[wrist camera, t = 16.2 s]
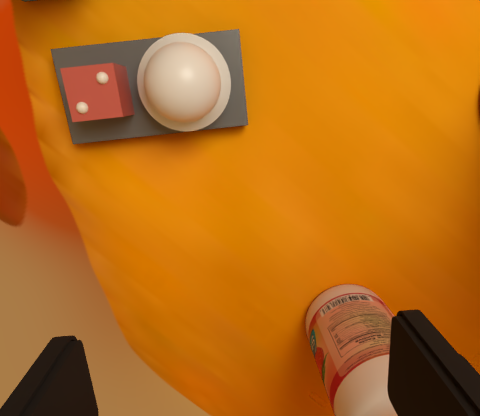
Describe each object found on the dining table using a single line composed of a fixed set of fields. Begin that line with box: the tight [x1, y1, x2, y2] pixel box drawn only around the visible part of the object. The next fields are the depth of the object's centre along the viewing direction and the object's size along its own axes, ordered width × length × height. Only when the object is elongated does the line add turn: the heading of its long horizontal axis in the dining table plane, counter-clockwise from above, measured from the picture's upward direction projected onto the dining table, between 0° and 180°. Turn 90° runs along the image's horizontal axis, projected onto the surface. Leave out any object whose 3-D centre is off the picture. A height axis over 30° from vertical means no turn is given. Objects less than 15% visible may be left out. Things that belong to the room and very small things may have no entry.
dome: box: [137, 33, 231, 131], centre depth 29 cm, size 8×8×6 cm
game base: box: [51, 29, 248, 144], centre depth 33 cm, size 16×8×2 cm, turn 96°
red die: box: [60, 63, 135, 122], centre depth 30 cm, size 4×4×4 cm
